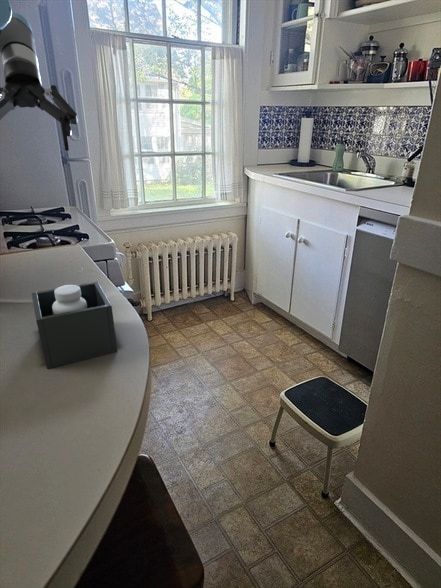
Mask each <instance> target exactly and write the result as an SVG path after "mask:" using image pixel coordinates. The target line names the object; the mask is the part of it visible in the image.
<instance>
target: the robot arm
mask: <svg viewBox="0 0 441 588" xmlns="http://www.w3.org/2000/svg"><path fill="white" fill-rule="evenodd" d="M0 55H1V61H2V67H3V68H2V70H3V77H4V86H3V87H2V86H1V87H0V98H1V97H2V96H3V98H1V99H0V121H2V119H3V118H4V117H5V116H6V115H7V114H8V113H9V112H11V111H14V110H15V109H16V108H18V107H19V108H35V107H37V108H38V109H39V110H41V111H44V112H46V114H49V115H50V116H51V117H52V118H53V119H55V120H56V121H57V122H59V123H60V129H61V135H62V140H63V145H64V150H65V151H70V148H69V140H68V137H72V133H73V132H72V126H71V125H77V124H78V114H77V112H76V111H75V110H74V109H73V108H72V106H71V105H70V104H69V103H68V102H67V101H66V99H64V97H63V96H62V95H61V94H60V92H59V90H58V87H57V86H56V84H55V85H54V84H51V85H50V88H44V87H43V84H42V78H41V74H40V67H39V59H38V57H37V56H38V55H37V48H36V39H35V34H34V31H33V29H32V26H31V24H30V22H29V20H28V19H27V18H25V17H24V16H23V15H22V14H20V13H18V12H16V11H15V12H13V9H12V4H11V2H10V0H0ZM46 96H47V97H48V98H49V99H50V100H51V101H53V102H54V103H52V102H51V101H50V100H49V99H47V98H46Z"/></svg>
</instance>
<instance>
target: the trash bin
mask: <svg viewBox="0 0 441 588" xmlns="http://www.w3.org/2000/svg"><path fill="white" fill-rule="evenodd" d="M76 285H77V286H79V287H80V290H81V297H82V298H84V299H85V300H86V302H87V308H86V309H81V310H76V311H71V312H66V313H61V314H55V315H53V309H52V305H53V303H54V302H55V301H56V299H55V293H54V291H55V289H56V288H51V289H45V290H40V291H34V292H31V298H32V302H33V303H32V304H33V309H34V315H35V321H36V325H37V331H38V334H39V339H40V340H39V341H40V344H41V349H42V353H43V358H44V362H45V368H46V369H47V370H48V369H52V368H57V367H60V366H65V365H68V364H73V363H76V362H77V363H78V362H80V361H85V360H88V359H89V360H90V359H93V358H97V357H100V356H105V355H109V354H113V353H117V352H118V345H117V339H116V338H117V336H116V328H115V321H114V320H115V319H114V314H113V313H114V312H113V305H112V304H111V302H110V300H109V298H108V296H107V295H106V293H105V291H104V290H103V288H102V287H101V285H100V283H99V282H98V281H93V282H88V283H82V284H76Z"/></svg>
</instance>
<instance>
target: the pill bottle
mask: <svg viewBox="0 0 441 588" xmlns="http://www.w3.org/2000/svg"><path fill="white" fill-rule="evenodd" d="M77 285H78V284H64V285H61V286H58V287H56V288H54V289H55V291H54V293H55V299H56V301H55V302H54V303H53V305H52V309H53V315H55V314H61V313H66V312H71V311H76V310H81V309H86V308H87V302H86V300H85V299H84V298H82V297H81V290H80V287H79V286H77Z"/></svg>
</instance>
